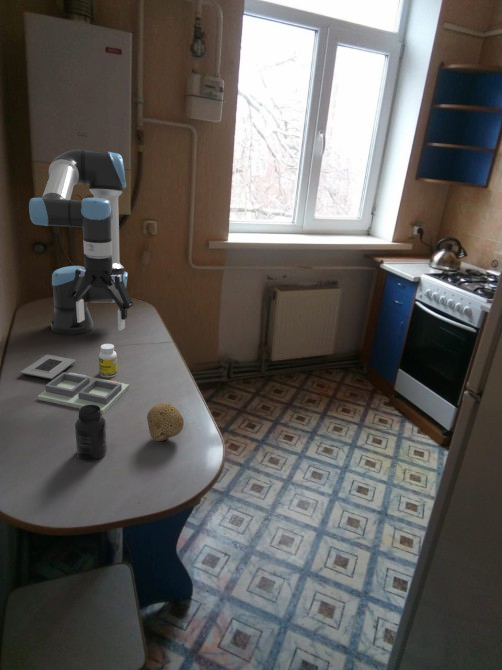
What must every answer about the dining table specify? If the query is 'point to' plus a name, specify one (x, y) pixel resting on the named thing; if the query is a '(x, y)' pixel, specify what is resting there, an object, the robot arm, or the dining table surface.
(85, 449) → the supplement bottle
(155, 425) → the natural sponge
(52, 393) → the tag board
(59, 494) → the dining table surface
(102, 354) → the supplement bottle
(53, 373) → the electrical outlet
